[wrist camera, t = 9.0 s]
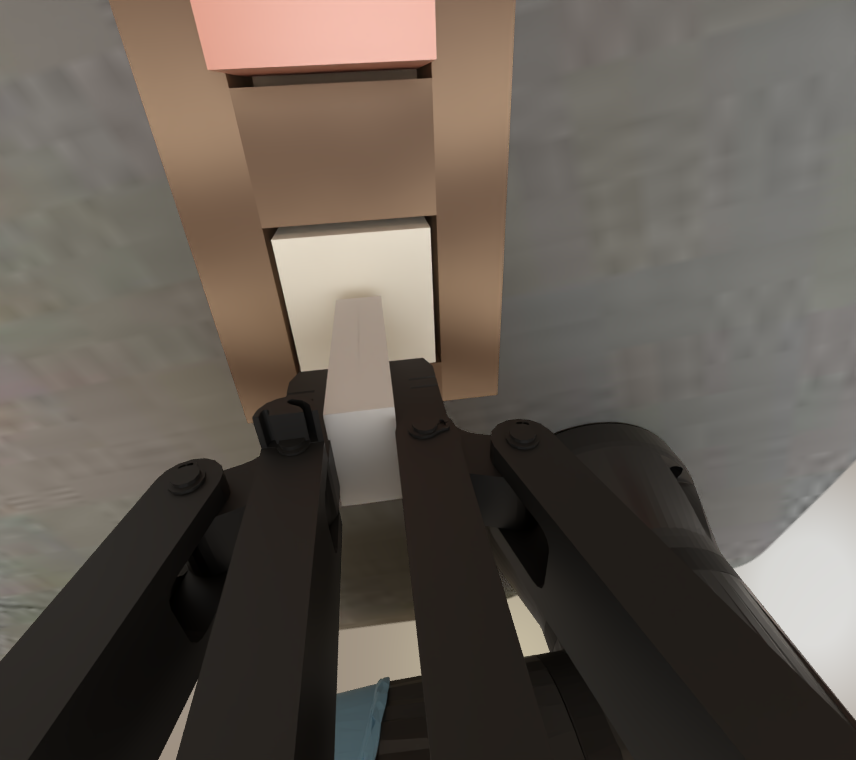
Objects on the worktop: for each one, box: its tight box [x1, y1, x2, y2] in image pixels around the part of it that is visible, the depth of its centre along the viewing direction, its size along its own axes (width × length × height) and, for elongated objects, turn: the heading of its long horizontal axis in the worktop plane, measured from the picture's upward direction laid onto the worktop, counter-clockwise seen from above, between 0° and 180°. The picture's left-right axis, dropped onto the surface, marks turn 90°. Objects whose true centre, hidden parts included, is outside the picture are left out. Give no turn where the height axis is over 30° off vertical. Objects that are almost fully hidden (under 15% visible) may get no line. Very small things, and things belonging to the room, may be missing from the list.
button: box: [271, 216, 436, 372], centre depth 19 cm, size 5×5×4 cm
